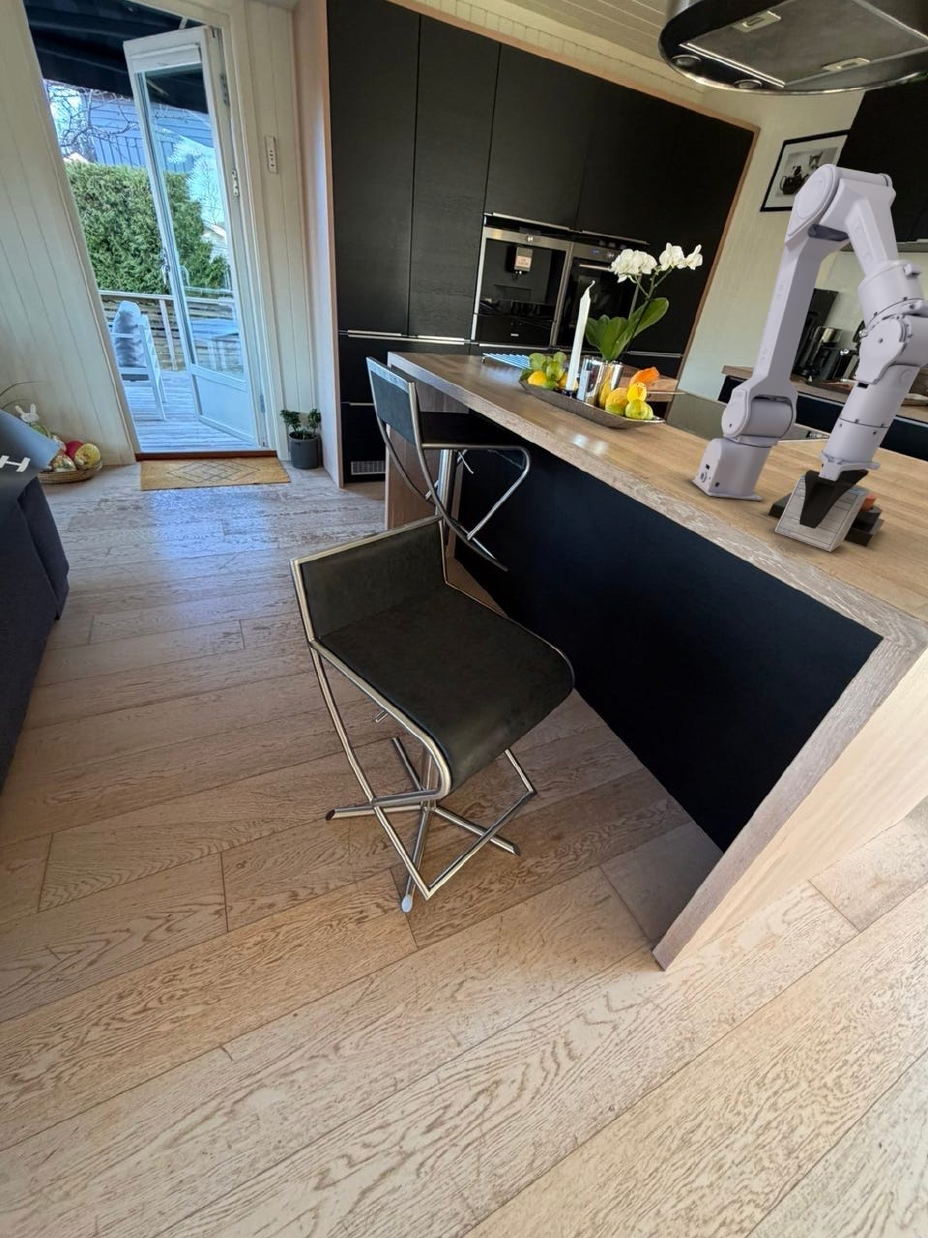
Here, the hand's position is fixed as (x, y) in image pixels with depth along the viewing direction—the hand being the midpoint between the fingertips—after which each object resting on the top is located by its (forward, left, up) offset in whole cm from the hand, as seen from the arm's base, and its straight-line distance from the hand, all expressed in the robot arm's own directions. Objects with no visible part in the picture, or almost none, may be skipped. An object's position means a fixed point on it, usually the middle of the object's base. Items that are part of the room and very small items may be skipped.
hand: (814, 520), depth 75 cm
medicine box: (0, 0, -3) cm, 3 cm away
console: (+7, +7, -3) cm, 11 cm away
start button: (+10, +6, +1) cm, 12 cm away
